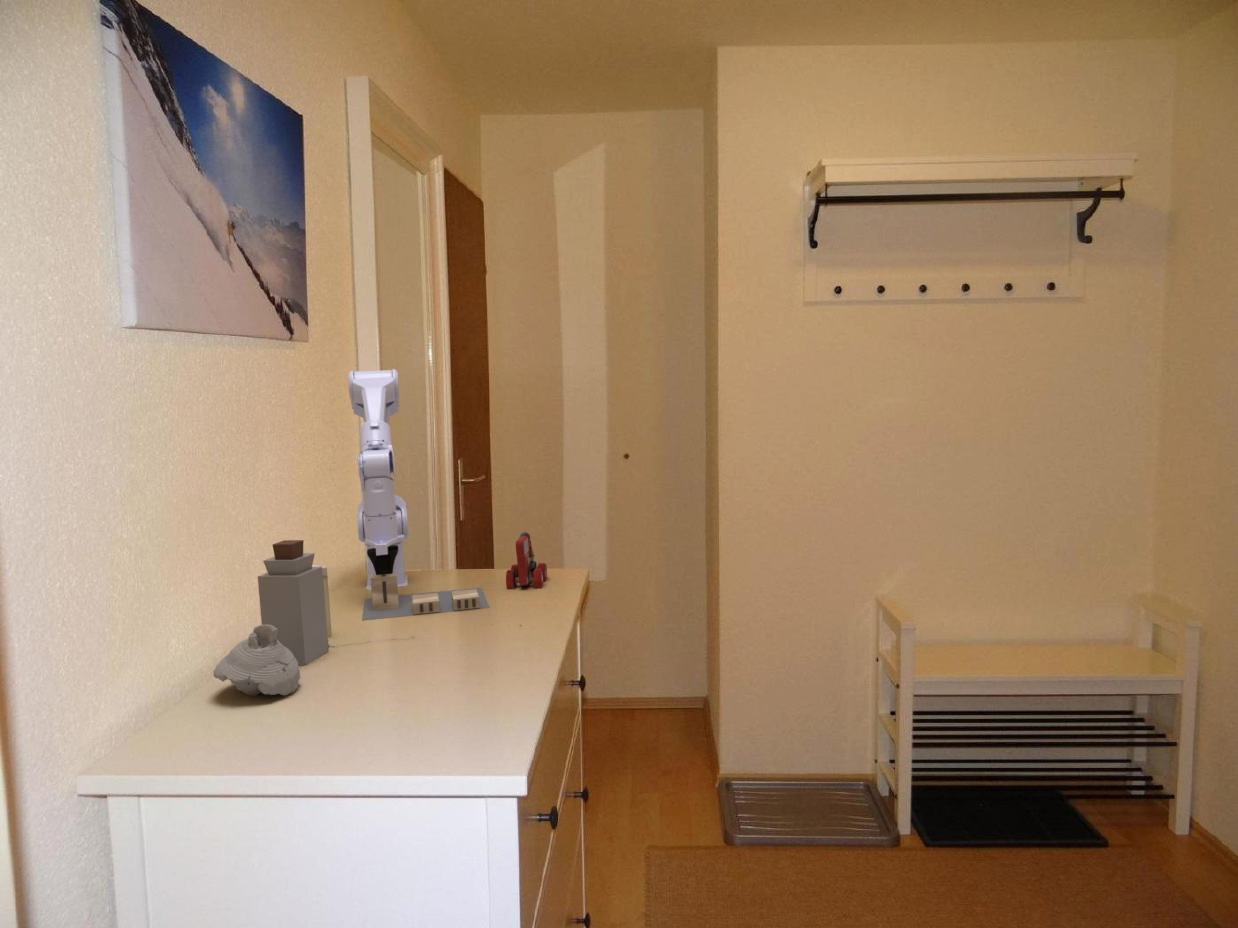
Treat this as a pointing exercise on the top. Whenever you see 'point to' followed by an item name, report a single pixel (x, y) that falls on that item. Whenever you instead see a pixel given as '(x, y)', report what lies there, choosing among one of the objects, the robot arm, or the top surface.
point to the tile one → (384, 591)
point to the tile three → (465, 599)
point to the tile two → (425, 603)
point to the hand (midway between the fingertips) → (385, 586)
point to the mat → (407, 605)
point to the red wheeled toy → (525, 566)
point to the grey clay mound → (260, 665)
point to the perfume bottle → (295, 601)
